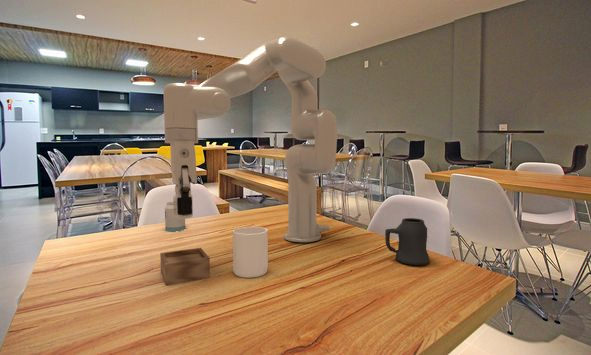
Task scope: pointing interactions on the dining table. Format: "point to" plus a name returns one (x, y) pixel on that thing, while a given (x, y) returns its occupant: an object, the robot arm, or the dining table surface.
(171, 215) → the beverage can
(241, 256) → the mug
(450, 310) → the dining table surface
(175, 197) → the pill bottle
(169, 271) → the walnut box
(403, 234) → the mug
